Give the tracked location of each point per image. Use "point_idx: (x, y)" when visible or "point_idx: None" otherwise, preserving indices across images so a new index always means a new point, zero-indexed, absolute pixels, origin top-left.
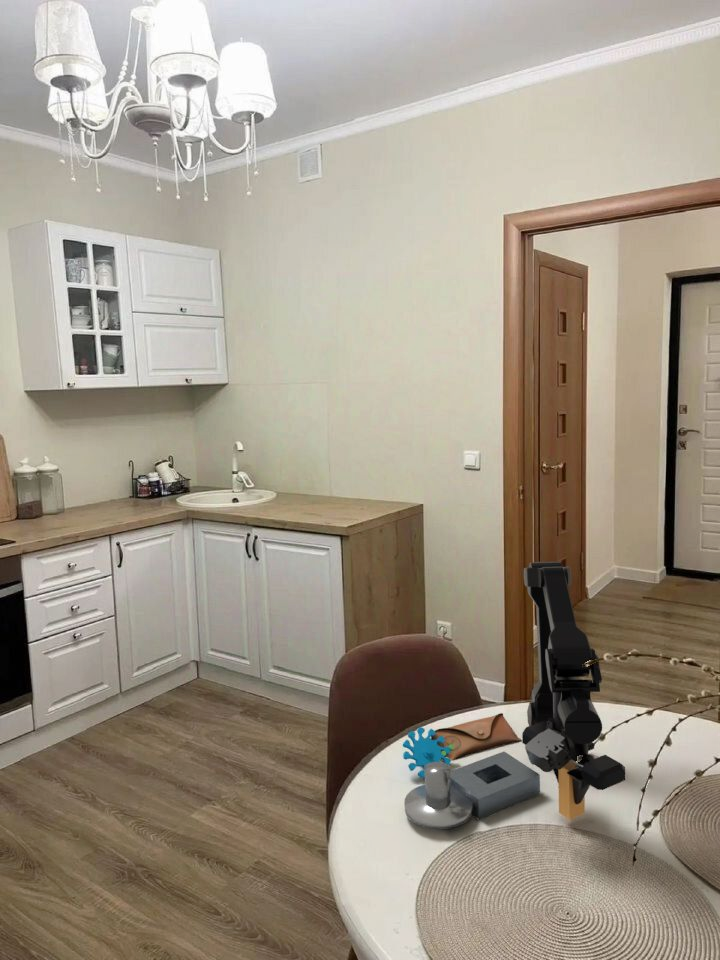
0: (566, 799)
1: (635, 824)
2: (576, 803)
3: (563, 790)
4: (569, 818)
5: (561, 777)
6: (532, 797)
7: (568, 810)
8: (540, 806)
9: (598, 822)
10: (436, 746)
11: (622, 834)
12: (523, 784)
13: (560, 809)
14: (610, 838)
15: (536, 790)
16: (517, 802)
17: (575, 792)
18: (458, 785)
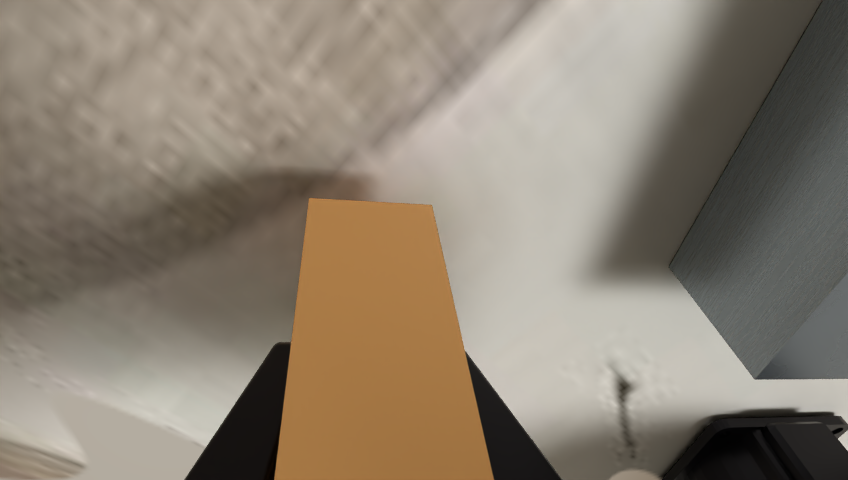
0: (339, 328)
1: (154, 418)
2: (271, 350)
3: (391, 404)
4: (308, 206)
5: None
6: (699, 218)
7: (316, 251)
8: (614, 193)
9: (266, 321)
10: None
11: (102, 339)
12: (839, 230)
13: (418, 227)
14: (92, 275)
15: (703, 271)
16: (779, 98)
17: (223, 471)
18: None
